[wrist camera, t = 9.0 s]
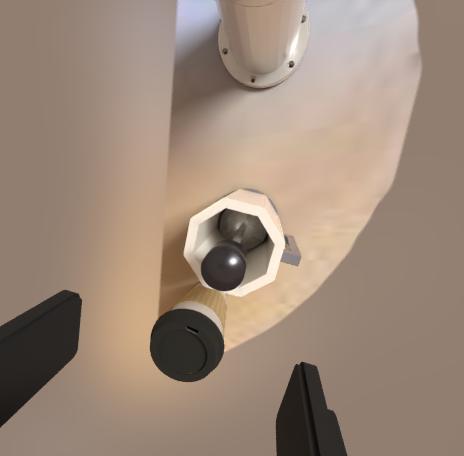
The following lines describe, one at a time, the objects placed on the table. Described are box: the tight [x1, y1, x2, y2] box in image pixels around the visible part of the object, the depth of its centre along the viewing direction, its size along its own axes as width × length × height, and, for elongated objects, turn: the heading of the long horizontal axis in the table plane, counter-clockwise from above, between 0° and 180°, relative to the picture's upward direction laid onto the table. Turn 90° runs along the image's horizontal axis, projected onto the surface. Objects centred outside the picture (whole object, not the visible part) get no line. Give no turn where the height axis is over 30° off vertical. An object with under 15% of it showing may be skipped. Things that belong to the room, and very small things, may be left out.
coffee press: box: [184, 189, 301, 297], centre depth 33 cm, size 11×13×16 cm
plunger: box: [201, 208, 267, 291], centre depth 29 cm, size 7×7×18 cm
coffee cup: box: [150, 281, 227, 382], centre depth 38 cm, size 10×10×15 cm
